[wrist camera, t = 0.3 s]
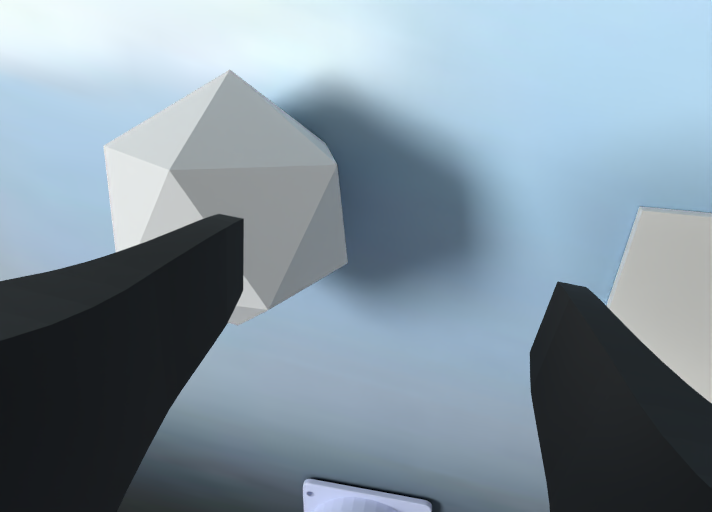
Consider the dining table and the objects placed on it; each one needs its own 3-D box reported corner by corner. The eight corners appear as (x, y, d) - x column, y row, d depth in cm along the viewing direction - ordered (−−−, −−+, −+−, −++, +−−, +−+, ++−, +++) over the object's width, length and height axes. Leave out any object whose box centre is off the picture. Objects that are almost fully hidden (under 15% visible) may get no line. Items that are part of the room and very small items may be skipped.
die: (235, 13, 20) (-12, 138, 16) (411, 92, 16) (146, 287, 12) (273, 173, 26) (105, 292, 22) (405, 258, 22) (233, 422, 18)
